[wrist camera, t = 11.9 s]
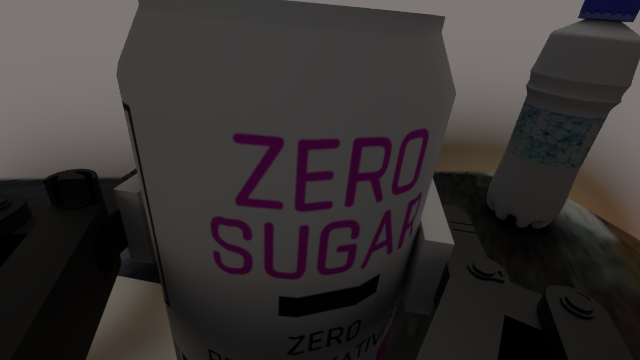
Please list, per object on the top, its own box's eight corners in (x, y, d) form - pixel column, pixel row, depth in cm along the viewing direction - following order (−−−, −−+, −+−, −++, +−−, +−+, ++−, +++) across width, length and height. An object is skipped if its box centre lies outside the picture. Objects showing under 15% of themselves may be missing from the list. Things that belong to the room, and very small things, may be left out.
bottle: (569, 228, 31) (703, -11, 22) (523, 242, 28) (652, -23, 19) (509, 193, 36) (595, -10, 27) (465, 203, 34) (544, -20, 24)
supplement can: (286, 277, 20) (298, 4, 13) (402, 370, 15) (521, 24, 8) (153, 368, 14) (46, -20, 7) (271, 557, 10) (289, -3, 3)
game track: (-361, 401, 13) (-370, 395, 13) (-42, 234, 24) (-45, 229, 23) (369, 606, 10) (371, 603, 10) (373, 311, 20) (374, 307, 20)
